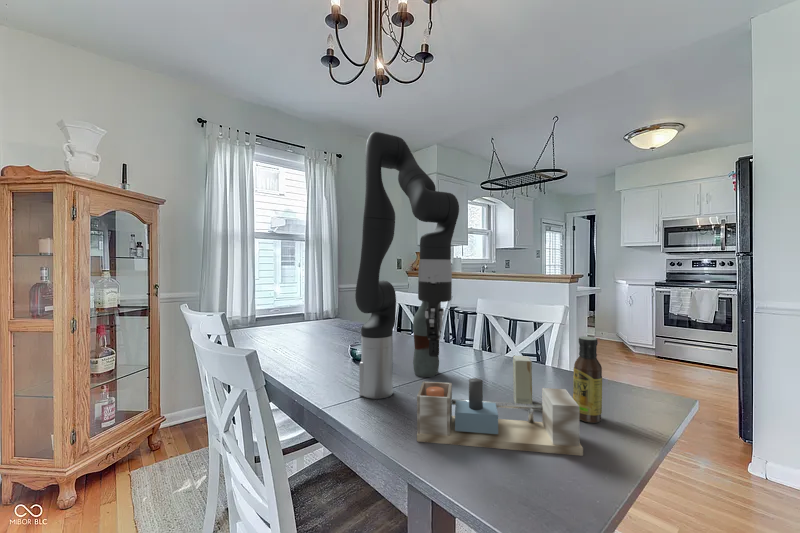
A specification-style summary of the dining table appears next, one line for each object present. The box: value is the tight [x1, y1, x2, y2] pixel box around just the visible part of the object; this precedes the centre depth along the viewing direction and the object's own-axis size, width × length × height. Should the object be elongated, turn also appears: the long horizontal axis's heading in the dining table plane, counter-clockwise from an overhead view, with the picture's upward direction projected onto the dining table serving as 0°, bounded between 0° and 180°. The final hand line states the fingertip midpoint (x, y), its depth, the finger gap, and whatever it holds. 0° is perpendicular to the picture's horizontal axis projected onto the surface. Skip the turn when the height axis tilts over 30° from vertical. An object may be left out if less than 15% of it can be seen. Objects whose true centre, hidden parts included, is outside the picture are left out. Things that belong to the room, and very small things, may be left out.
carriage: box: [454, 377, 499, 434], centre depth 79 cm, size 9×7×10 cm
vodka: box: [412, 301, 440, 378], centre depth 124 cm, size 9×9×30 cm
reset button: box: [426, 387, 444, 397], centre depth 81 cm, size 4×4×4 cm
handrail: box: [452, 398, 543, 423], centre depth 83 cm, size 20×1×4 cm, turn 79°
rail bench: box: [416, 381, 584, 457], centre depth 79 cm, size 33×11×10 cm, turn 79°
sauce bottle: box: [572, 335, 603, 424], centre depth 87 cm, size 6×6×20 cm
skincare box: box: [512, 355, 533, 404], centre depth 97 cm, size 6×4×12 cm
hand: (434, 355), depth 81 cm, fingers closed
